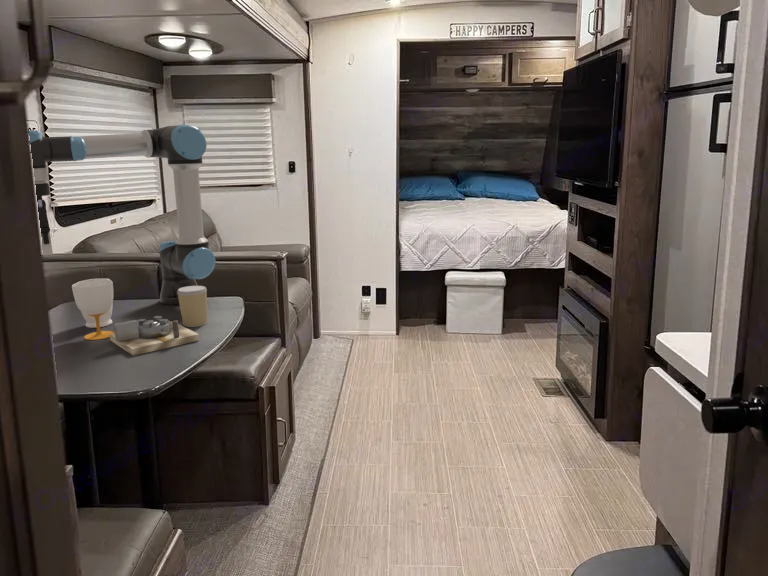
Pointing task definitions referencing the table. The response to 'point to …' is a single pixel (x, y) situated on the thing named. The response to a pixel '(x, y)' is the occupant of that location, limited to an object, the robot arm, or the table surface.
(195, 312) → the coffee cup
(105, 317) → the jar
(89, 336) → the cup
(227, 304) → the table surface
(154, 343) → the housing plate
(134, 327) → the grey notched machine part
